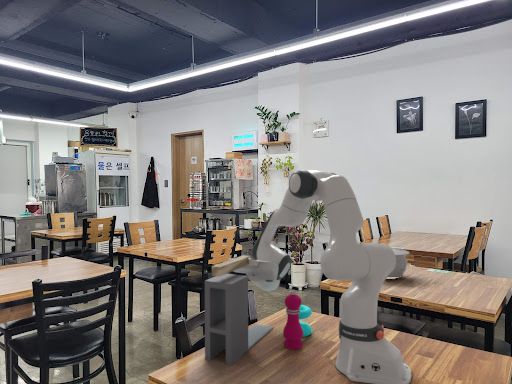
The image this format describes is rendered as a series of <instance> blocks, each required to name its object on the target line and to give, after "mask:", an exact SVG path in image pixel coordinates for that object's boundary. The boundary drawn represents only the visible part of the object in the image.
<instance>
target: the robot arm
mask: <svg viewBox="0 0 512 384" xmlns="http://www.w3.org/2000/svg"><path fill="white" fill-rule="evenodd" d="M288 179H289V180H288V188H287V190H286V192H285V193H284V196H283V199H282V201H281V202H282V203H281V205H280V206H279V208H276V209H274V210H273V211H272V212H271V213H270V215H269V217H268V218H267V220H266V223H265V224H264V226H263V229H262V231H261V233H260V235H259V237H258V238H257V240H256V242H255V243H254V245H253V246H252V248H251V256H252V257H251V258H248V259H247V263H248V264H249V265H247V266H244V267H242V268H239V269H237V270H234V271H233V272H234V273H239V274H240V273H241V274H245V276H248V281H250V282H252V283H253V284H255V285H256V286H257V287H258V288H259V289H261V290H263V291H265V292H272V291H276V289H278V288H279V286H280V284H281V283H280V282H281V280H282V279H283V278H285V276H287V275H288V273H289V272H290V270H291V267H292V257H291V255H289V254H288V253H287V252H285V251H284V250H282V249H280V248H279V247H278V246H276V245H275V244H274V243H273V242H272V239H273V238H274V235H275V233H276V231H277V229H278V227H280V226H281V227H287V228H288V227H289V228H293V227H299V226H300V225H302V224H304V222H305V221H306V219H307V217H308V215H309V211H310V208H311V206H312V202H313V201H318V202H319V201H321V202H322V203H323V208H324V211H325V215H326V218H327V223H328V228H329V234H330V235H329V241H328V244H327V246H326V248H324V250H323V252H322V254H321V255H320V261H319V262H320V263H319V264H320V269H321V271H322V273H323V275H324V276H325V277H326V278H327V279H329V280H332V281H341V282H347V281H348V282H349V281H352V282H351V284H350V286H349V287H348V288H347V289H346V290H345V291H344V292H343V293H342V295H341V297H340V320H338V321H339V322H338V338H339V343H338V344H339V345H338V353H337V357H336V360H335V367H336V369H337V370H338V371H339V372H340V373H342V374H344V375H345V376H346V377H347V378H348V379H349V381H351V382H359V383H365V384H410V383H411V381H412V376H413V375H412V370H411V367H410V366H409V365H408V364H407V363H405V362H404V359H403V355H402V352H401V351H400V349H399V348H398V347H396V346H395V345H394V344H393V343H392V342H390V341H389V340H388V339H387V338H386V337H385V330H384V329H385V328H384V324H382V325H381V324H380V323H378V300H379V296H380V292H381V290H382V287H383V285H384V282H385V281H386V280H385V279H386V278H387V276H388V275H389V274H390V273H391V272H392V271H393V270H394V268H395V265H396V257H395V254H394V252H393V250H392V249H391V248H390V246H389V245H388V244H384V243H381V242H380V243H379V242H378V243H377V242H363V243H362V242H361V243H359V242H358V241H357V233H358V232H359V231H360V230H361V229H362V227H363V225H364V218H363V214H362V211H361V208H360V205H359V203H358V199H357V197H356V194H355V192H354V190H353V188H352V185H351V184H350V183H349V181H348V179H347V178H346V177H345V176H343V175H341V174H337V173H335V172H327V171H322V170H318V169H317V170H316V169H305V168H304V169H297V170H295V171H293V172H292V173H291V175H290V177H289V178H288ZM232 259H234V258H231V257H228V258H227V260H226V261H229V260H232Z"/></svg>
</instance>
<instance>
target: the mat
mask: <svg viewBox="0 0 512 384" xmlns="http://www.w3.org/2000/svg"><path fill="white" fill-rule="evenodd" d="M273 329H274V326H270V325H265V324H264V325H263V324H259V323H254V324H253V325H252V326H250V327H248V351H249V350H250V349H251V348H253V347H254V346H255V345H256V344H257V343H258V342H260V340H262V339H263V338H264V337H265V336H267V334H268V333H270V332H271V331H272V330H273Z"/></svg>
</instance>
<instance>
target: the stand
mask: <svg viewBox="0 0 512 384" xmlns="http://www.w3.org/2000/svg"><path fill="white" fill-rule="evenodd" d="M248 329H249V279H248V276H247V275H243V274H242V275H241V274H235V273H227V274H225V275H222V276H212V277H211V278H209V279H206V280H204V359H205V360H208V361H210V360H212V359H214V357H216V356H217V355H219V354H220V353H221V352H222V351H224V350H225V364H226V365H229V366H232V365H233V364H234V363H236V361H238V360H240V358H241V357H243V355H244V354H245V353H247V352H248V351H249V350H248Z"/></svg>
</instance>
